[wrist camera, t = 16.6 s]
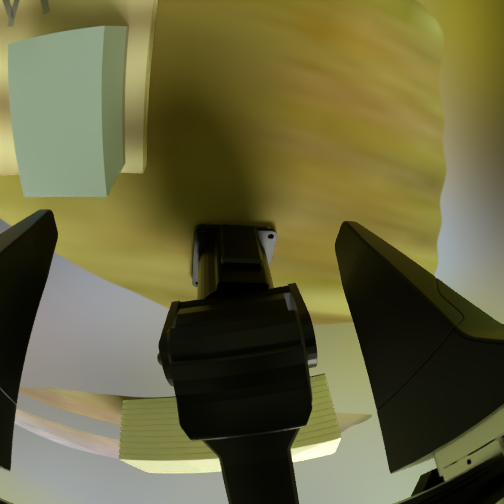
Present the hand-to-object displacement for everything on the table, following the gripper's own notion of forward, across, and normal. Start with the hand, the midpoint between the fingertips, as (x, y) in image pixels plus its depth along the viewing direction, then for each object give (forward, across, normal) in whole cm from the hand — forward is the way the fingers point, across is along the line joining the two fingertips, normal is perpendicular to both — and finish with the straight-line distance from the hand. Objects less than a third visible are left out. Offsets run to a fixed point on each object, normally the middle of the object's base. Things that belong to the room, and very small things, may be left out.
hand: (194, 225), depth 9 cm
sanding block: (+11, +8, -1) cm, 14 cm away
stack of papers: (+14, -5, +44) cm, 46 cm away
